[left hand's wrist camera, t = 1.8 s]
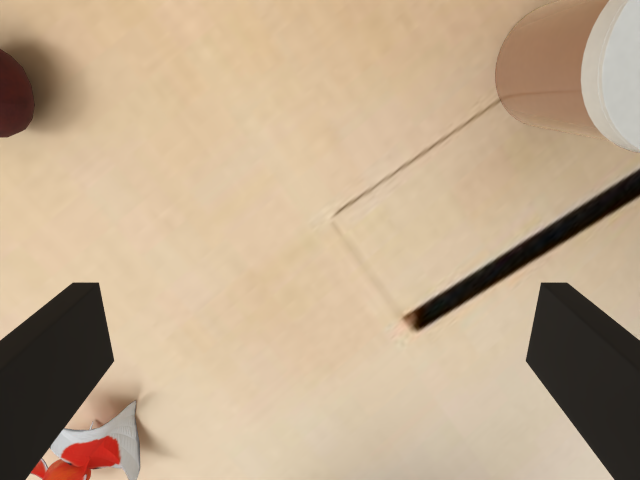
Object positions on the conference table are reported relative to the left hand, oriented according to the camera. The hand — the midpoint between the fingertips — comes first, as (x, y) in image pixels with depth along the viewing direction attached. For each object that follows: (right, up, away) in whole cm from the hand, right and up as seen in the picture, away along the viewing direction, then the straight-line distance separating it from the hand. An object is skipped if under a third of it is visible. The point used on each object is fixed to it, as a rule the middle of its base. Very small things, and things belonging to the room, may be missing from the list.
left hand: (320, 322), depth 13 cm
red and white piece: (-26, -20, +37) cm, 49 cm away
